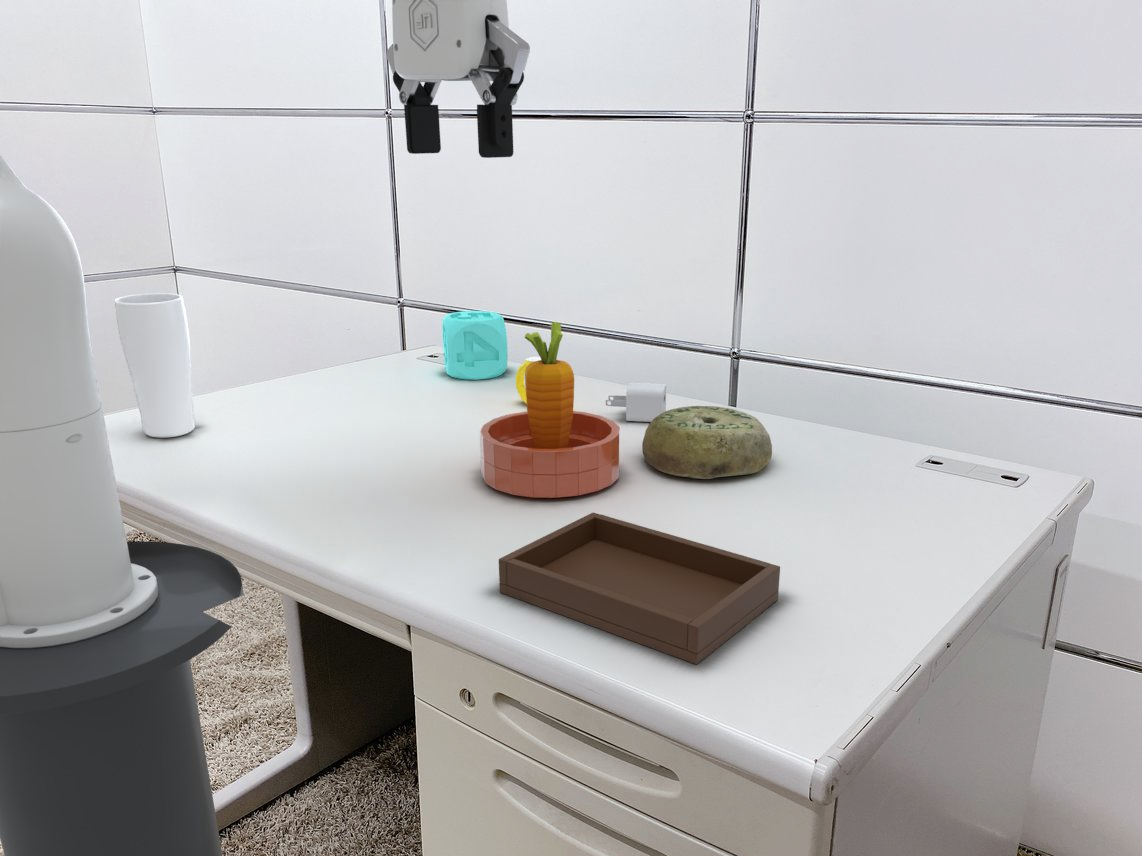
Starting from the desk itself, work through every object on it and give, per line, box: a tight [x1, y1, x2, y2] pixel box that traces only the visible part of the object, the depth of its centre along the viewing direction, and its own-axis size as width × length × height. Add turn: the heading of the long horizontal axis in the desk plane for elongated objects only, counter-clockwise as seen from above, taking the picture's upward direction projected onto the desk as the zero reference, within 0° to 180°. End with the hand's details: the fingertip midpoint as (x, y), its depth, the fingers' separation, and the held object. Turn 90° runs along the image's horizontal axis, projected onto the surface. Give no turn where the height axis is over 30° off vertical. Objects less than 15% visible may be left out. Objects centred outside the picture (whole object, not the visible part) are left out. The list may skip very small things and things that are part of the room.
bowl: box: [479, 410, 621, 499], centre depth 97 cm, size 14×14×5 cm
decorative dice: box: [441, 310, 509, 381], centre depth 135 cm, size 8×8×8 cm
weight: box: [641, 405, 773, 480], centre depth 102 cm, size 14×13×5 cm
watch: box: [515, 356, 541, 405], centre depth 121 cm, size 6×3×6 cm, turn 58°
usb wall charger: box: [605, 382, 667, 423], centre depth 117 cm, size 4×7×4 cm, turn 83°
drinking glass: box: [113, 292, 196, 439], centre depth 107 cm, size 7×7×15 cm
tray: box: [498, 512, 781, 665], centre depth 73 cm, size 18×12×3 cm, turn 55°
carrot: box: [524, 321, 575, 449], centre depth 95 cm, size 5×5×15 cm
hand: (459, 155), depth 83 cm, fingers open, 9 cm apart
